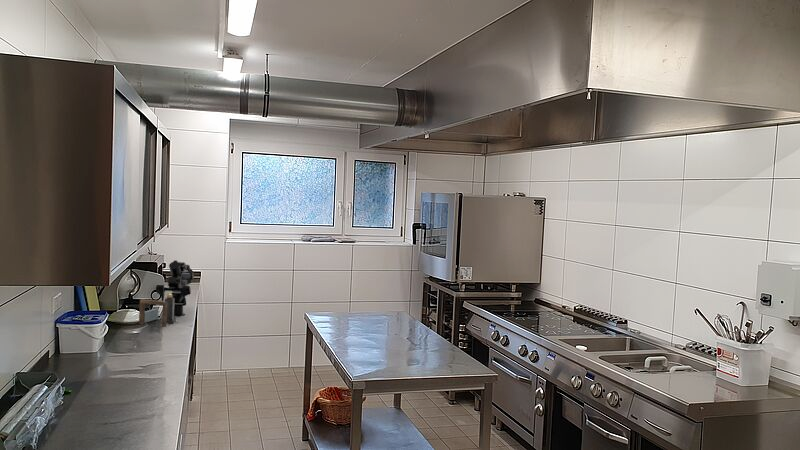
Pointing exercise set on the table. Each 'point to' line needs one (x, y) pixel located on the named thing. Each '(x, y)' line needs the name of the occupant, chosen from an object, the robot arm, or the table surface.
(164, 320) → the door frame
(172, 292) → the robot arm
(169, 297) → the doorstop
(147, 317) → the door
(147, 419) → the table surface
